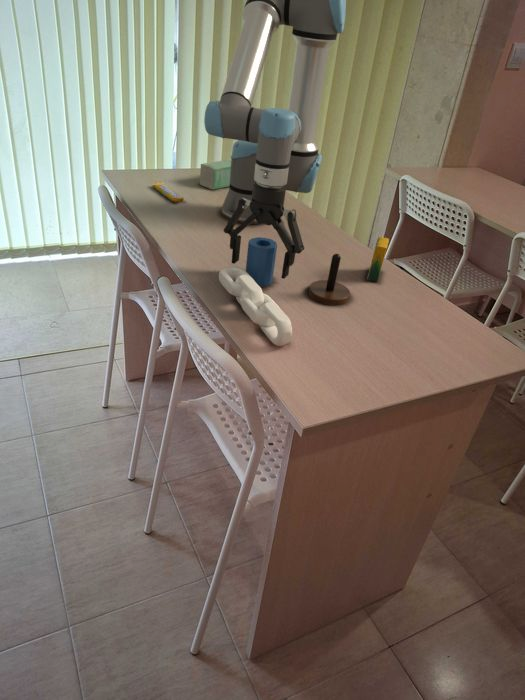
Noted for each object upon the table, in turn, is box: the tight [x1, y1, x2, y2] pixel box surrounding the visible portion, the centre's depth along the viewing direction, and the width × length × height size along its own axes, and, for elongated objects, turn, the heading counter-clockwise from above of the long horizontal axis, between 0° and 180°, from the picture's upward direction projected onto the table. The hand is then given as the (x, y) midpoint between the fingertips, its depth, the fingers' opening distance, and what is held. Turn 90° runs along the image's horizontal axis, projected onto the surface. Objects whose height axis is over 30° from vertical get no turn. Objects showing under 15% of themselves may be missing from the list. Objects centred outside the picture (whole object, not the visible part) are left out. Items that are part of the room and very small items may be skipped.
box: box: [199, 159, 231, 191], centre depth 192 cm, size 7×14×8 cm, turn 137°
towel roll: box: [245, 236, 278, 287], centre depth 133 cm, size 7×7×10 cm
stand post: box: [326, 253, 342, 291], centre depth 129 cm, size 2×2×10 cm
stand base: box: [308, 279, 351, 306], centre depth 133 cm, size 10×10×2 cm
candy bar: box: [151, 181, 184, 203], centre depth 178 cm, size 17×4×2 cm, turn 34°
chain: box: [218, 266, 293, 347], centre depth 120 cm, size 30×6×6 cm, turn 26°
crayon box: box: [366, 229, 390, 283], centre depth 142 cm, size 7×3×12 cm, turn 164°
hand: (259, 269), depth 133 cm, fingers open, 13 cm apart
